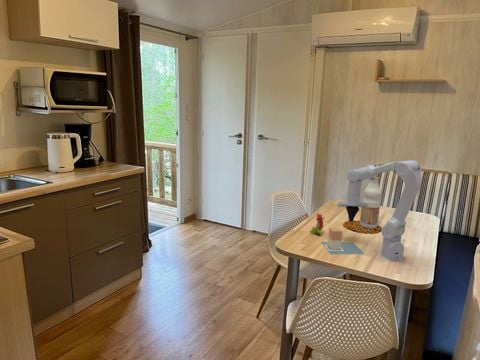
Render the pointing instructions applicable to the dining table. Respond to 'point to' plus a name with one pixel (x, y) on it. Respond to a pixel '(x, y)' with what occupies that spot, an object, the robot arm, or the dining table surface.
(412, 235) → the dining table surface
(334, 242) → the base block
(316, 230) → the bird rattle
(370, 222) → the fruit juice
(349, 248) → the board
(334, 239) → the top block
